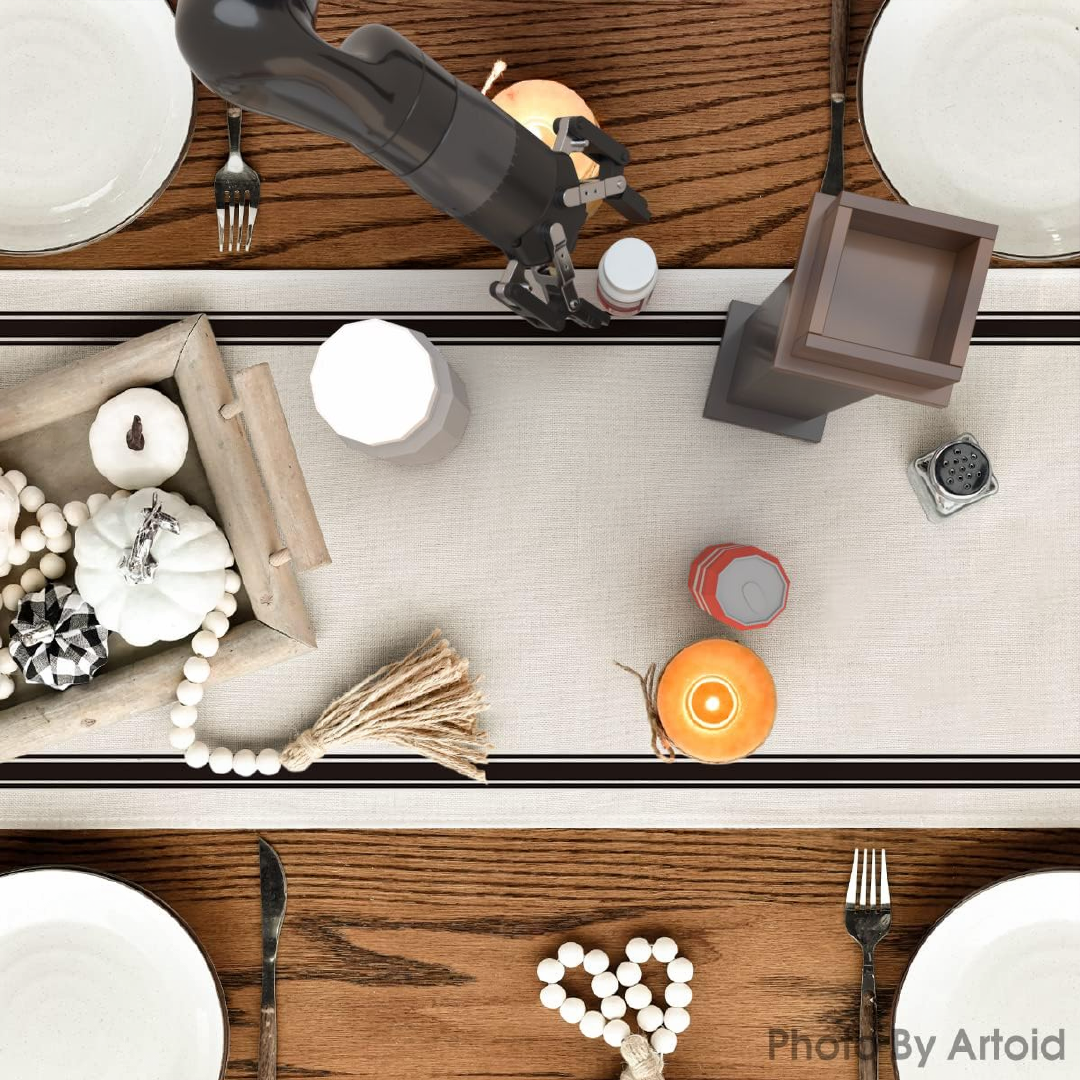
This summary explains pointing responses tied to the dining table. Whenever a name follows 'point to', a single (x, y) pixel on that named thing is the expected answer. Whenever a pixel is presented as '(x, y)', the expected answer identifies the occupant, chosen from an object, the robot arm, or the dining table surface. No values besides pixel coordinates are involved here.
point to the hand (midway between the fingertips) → (622, 269)
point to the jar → (389, 393)
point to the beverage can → (739, 585)
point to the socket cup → (883, 297)
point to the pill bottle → (626, 277)
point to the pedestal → (767, 377)
